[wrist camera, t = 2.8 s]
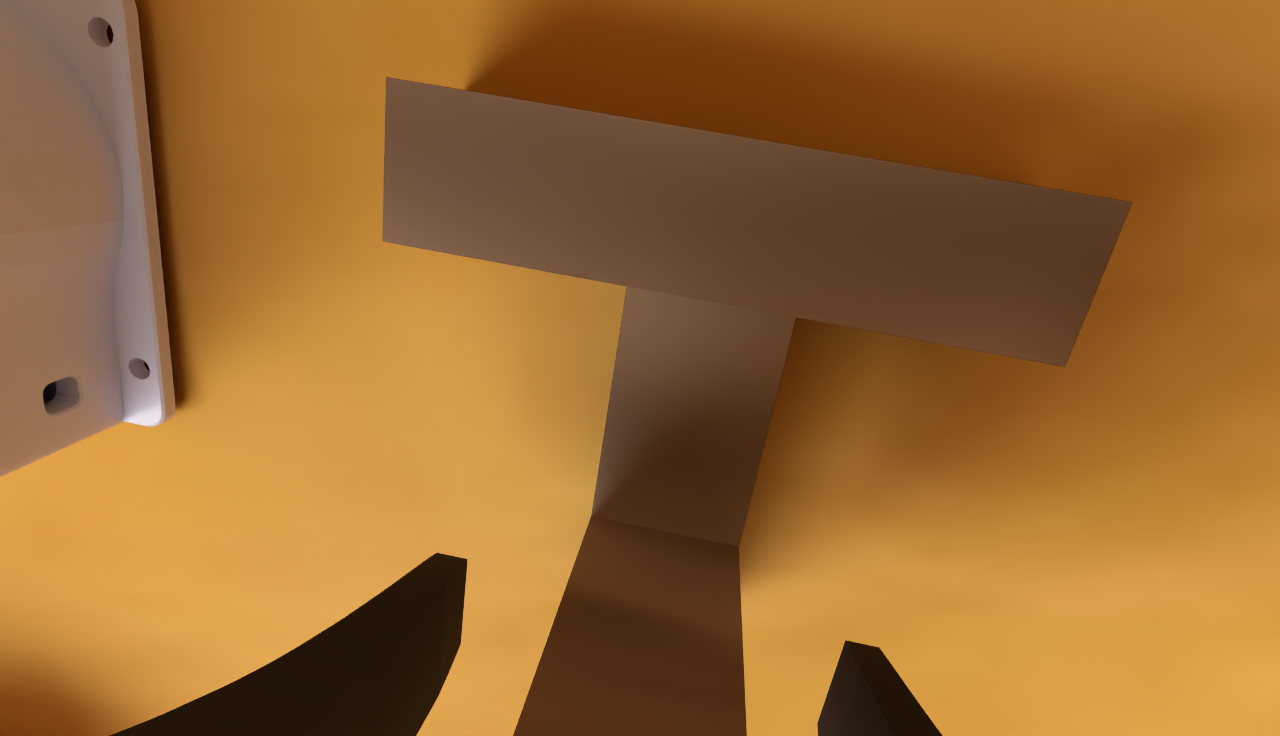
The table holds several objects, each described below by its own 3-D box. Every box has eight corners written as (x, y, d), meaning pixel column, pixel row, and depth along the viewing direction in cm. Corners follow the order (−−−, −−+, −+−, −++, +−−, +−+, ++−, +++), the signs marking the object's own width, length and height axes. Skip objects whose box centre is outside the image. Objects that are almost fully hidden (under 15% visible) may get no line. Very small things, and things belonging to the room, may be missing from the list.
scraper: (875, 636, 15) (1063, 1233, 7) (435, 542, 16) (114, 981, 8) (1034, 189, 12) (1828, 287, 3) (462, 93, 12) (-84, -28, 4)
